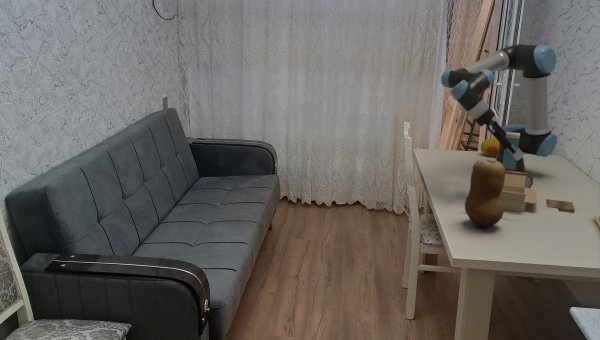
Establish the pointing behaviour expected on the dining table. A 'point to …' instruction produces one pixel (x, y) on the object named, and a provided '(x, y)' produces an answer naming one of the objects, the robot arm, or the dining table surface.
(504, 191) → the carton
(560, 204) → the walnut board
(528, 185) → the tin
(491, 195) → the butternut squash
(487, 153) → the lantern
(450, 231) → the dining table surface
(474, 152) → the dining table surface
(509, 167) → the teal box
